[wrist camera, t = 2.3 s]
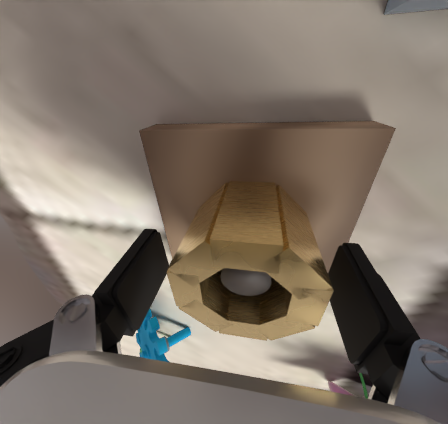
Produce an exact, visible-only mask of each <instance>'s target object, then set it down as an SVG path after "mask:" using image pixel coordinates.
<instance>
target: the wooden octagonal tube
mask: <svg viewBox="0 0 448 424" xmlns="http://www.w3.org/2000/svg"><path fill="white" fill-rule="evenodd" d="M223 268H229V269H239V270H248V271H258V272H266V273H267V274H268V275H270V276H271V286H270V288H269V289H268V290H267V291H266V292H264V293H262V294H260V295H255V296H244V295H239V294H236V293H234V292H232V291H230V290H228V289H227V288H226V287H225V286H224V285H223V283H222V281H221V272H222V269H223ZM167 276H168V279H169V282H170V286H171V289H172V292H173V296H174V299H175V303H176V306H180V307H179V309H180V310H182V311H184V312H185V313H187V314H188V315H190V316H191V317H193V318H195V319H196V320H198V321H199V322H201V323H203V324H204V325H206V326H207V327H209V328H210V329H212V330H214V331H215V332H216V331H219V333H222V334H228V335H235V336H241V337H247V338H253V339H260V340H266V341H267V338H268V339H269V340H275V339H278V338H282V337H285V336H289V335H292V334H296V333H300V332H303V331H307V330H310V329H314V328H315V326H318V325H319V323H320V321H321V318H322V316H323V314H324V312H325V309H326V307H327V305H328V303H329V300H330V298H331V296H332V294H333V289H332V285H331V282H330V279H329V276H328V273H327V270H326V268H325V265H324V262H323V259H322V256H321V253H320V250H319V247H318V245H317V242H316V239H315V236H314V233H313V230H312V227H311V224H310V222H309V219H308V216H307V213H306V212H305V211H304V210H303V209H302V208H301V207H300V206H299V205H298V204H297V203H296V202H295V201H294V199H293V198H292V197H291V196H290V195H289V194H288V193H287V192H286V191H285V190H284V189H283V188H282V187H281V186H280V185H279V184H278V185H277V186H276V185H275V182H244V181H229V184H227V183H225V184H224V185H223V186H222V187H221V188H219V189H218V190H217V191H216V192H215V193H214V194H213V195H212V196H211V197H210V198H209V199H208V200H207V201H205V202H204V203H203V204H202V205H201V206H200V207H199V209H198V211H197V213H196V215H195V217H194V219H193V221H192V222H191V224H190V226H189V228H188V230H187V232H186V234H185V236H184V238H183V240H182V242H181V244H180V246H179V248H178V250H177V252H176V253H175V255H174V257H173V259H172V261H171V263H170V265H169V267H168V270H167Z"/></svg>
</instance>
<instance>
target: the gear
mask: <svg viewBox="0 0 448 424" xmlns="http://www.w3.org/2000/svg"><path fill="white" fill-rule="evenodd" d="M151 317H152V313H151V310H150V309H149V311H148V313H147V315H146V317H145V319H144V321H143V323H142V325H141V327H140V328H139V329H138V333H136V339H137V343H138V344H139V345H140V347H141V348H140V357H142V358H147V359H153V360H159V361H165V362H169V361H168V360H167V359H166V357H165V355H164V353H166V352H168V351H169V347H171V346H172V345H174V344H176V343H177V342H179V341H181V340H183V339H184V338H186V337H188V336H190V335H191V331H190V329H189V327H186V328H185V329H183V330H181V331H179V332H177V333H175V334H174V335H172V336H170V337H168V338H166V337H165V336H164V337H162V338H159V337H158V336H157V333H156V330H158V329H159V328H160V326H159V323H158V320H157V318H156V316H155V317H153V318H151ZM150 318H151V319H150Z"/></svg>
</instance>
